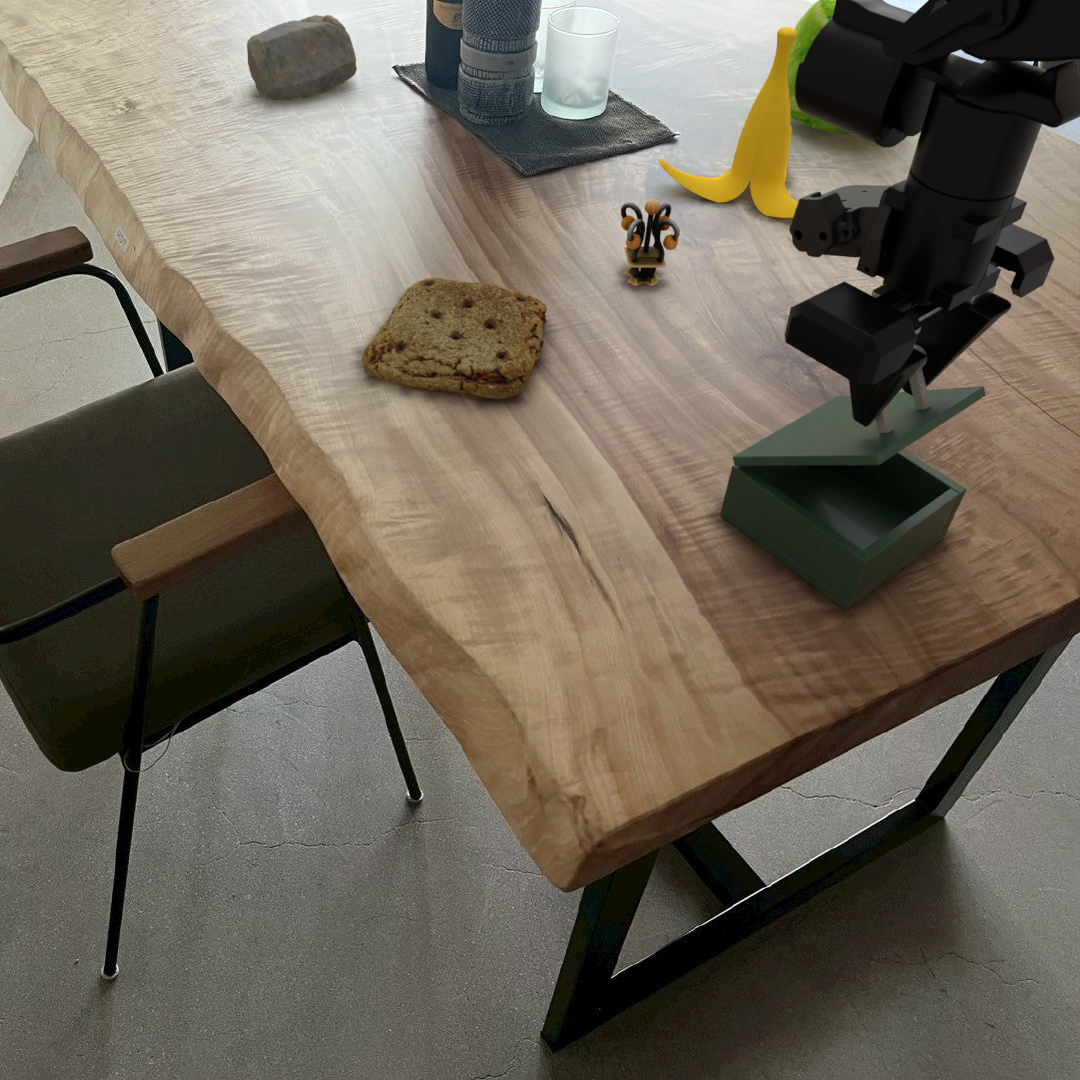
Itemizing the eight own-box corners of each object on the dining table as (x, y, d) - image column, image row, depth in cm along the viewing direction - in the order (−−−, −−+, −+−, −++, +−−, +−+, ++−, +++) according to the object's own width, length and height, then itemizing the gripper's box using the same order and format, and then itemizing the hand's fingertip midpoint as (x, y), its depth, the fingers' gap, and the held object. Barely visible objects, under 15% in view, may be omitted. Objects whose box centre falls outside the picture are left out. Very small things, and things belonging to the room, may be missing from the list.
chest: (944, 537, 76) (967, 489, 73) (845, 611, 71) (865, 562, 67) (820, 453, 82) (836, 404, 79) (719, 514, 77) (731, 465, 73)
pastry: (497, 273, 98) (497, 245, 96) (599, 373, 88) (602, 344, 86) (323, 320, 91) (320, 290, 89) (413, 435, 81) (412, 404, 79)
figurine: (667, 263, 101) (672, 184, 95) (676, 291, 97) (682, 211, 91) (618, 267, 100) (620, 188, 94) (625, 295, 97) (627, 215, 91)
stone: (271, 111, 119) (262, 39, 114) (242, 85, 124) (232, 15, 118) (367, 90, 125) (363, 21, 119) (336, 66, 129) (331, -2, 123)
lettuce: (832, 85, 134) (893, -20, 124) (893, 180, 123) (966, 73, 113) (735, 60, 129) (791, -52, 119) (790, 158, 117) (857, 43, 107)
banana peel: (649, 189, 111) (672, 24, 99) (778, 150, 119) (813, -7, 107) (757, 261, 102) (796, 88, 90) (887, 213, 110) (940, 49, 98)
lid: (986, 395, 68) (970, 323, 67) (878, 465, 63) (858, 388, 61) (838, 405, 78) (822, 342, 77) (734, 466, 73) (714, 400, 72)
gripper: (937, 90, 66) (873, 307, 77) (737, 167, 57) (696, 400, 68) (1102, 154, 60) (1007, 378, 71) (908, 251, 51) (833, 491, 62)
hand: (886, 407), depth 68 cm, fingers closed on lid, 5 cm apart
